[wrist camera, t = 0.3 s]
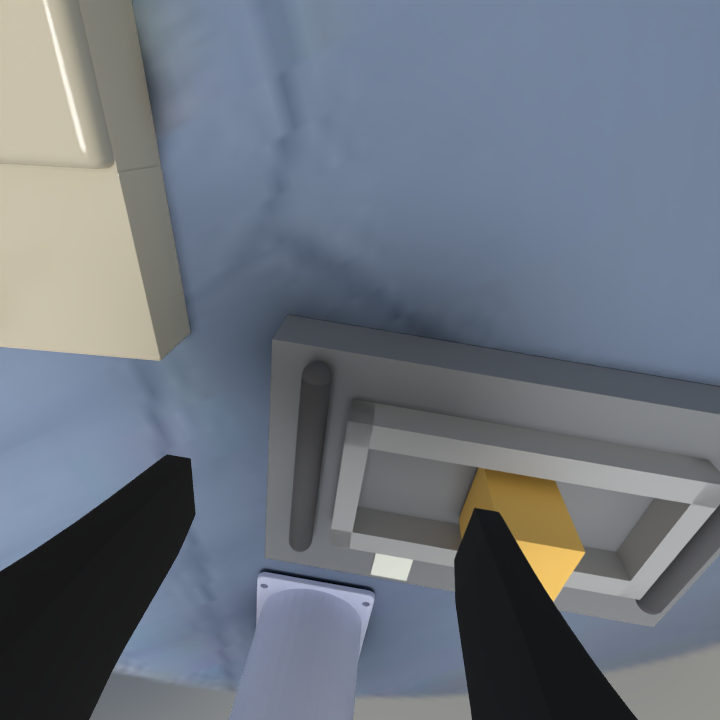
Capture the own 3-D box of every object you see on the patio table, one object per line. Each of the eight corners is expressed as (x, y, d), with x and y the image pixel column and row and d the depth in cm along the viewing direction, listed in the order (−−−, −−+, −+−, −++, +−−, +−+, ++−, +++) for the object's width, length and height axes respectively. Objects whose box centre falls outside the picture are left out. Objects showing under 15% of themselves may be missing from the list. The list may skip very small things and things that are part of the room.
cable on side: (313, 538, 22) (308, 559, 21) (291, 534, 22) (285, 554, 21) (335, 358, 16) (330, 374, 15) (306, 354, 16) (299, 369, 15)
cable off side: (649, 597, 22) (661, 621, 21) (626, 594, 22) (637, 617, 21) (788, 435, 16) (814, 456, 15) (757, 430, 16) (781, 450, 15)
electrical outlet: (-22, 357, 17) (-415, -469, 8) (53, 317, 20) (-160, -283, 11) (148, 372, 16) (-65, -486, 7) (194, 329, 20) (88, -287, 11)
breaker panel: (631, 583, 25) (668, 657, 21) (276, 521, 25) (256, 583, 22) (779, 396, 18) (868, 460, 15) (287, 314, 18) (260, 357, 15)
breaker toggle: (520, 530, 20) (544, 615, 16) (458, 519, 20) (469, 601, 16) (550, 469, 18) (585, 552, 14) (482, 458, 18) (500, 537, 14)
